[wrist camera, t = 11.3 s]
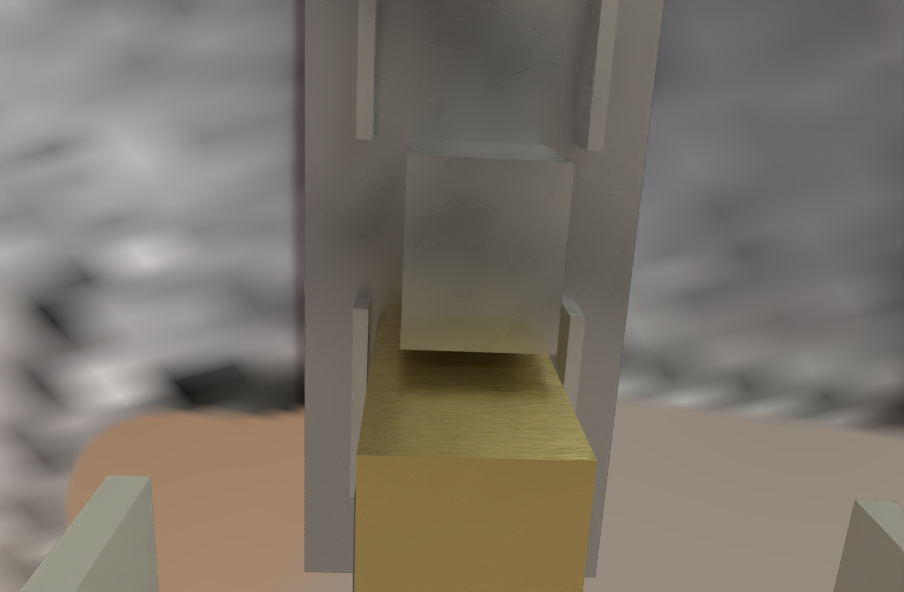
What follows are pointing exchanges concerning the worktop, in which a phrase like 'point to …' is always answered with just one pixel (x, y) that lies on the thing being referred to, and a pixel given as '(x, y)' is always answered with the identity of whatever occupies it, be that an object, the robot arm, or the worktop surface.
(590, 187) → the rail
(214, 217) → the worktop surface
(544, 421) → the block
